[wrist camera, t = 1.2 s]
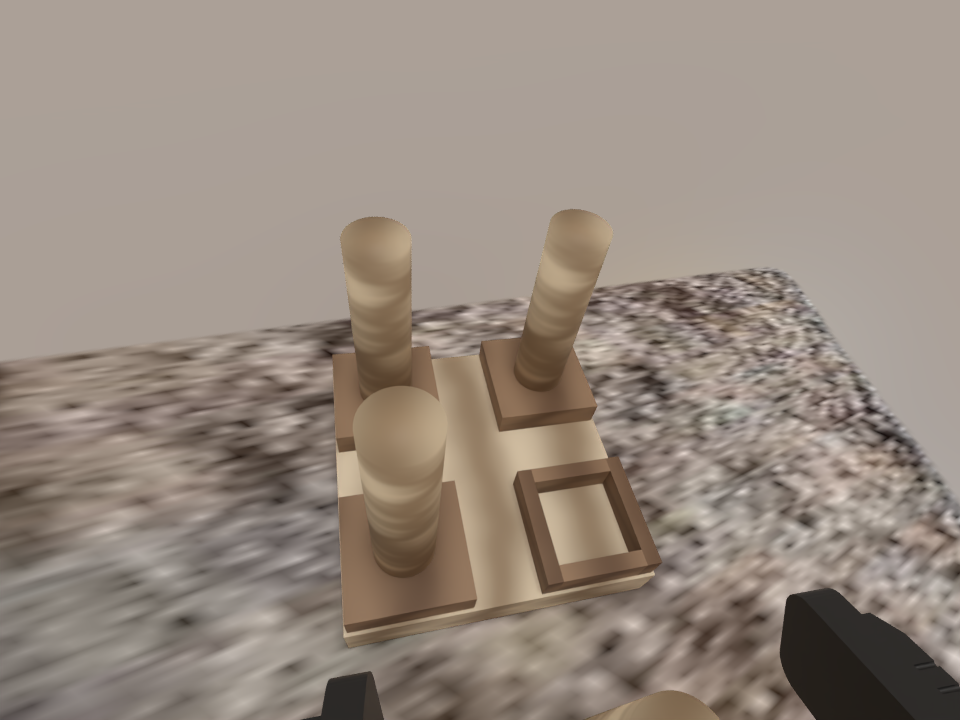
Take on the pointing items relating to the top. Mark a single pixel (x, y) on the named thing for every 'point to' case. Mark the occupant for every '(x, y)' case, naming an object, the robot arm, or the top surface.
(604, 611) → the top surface
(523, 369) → the stool seat
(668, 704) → the stool leg
